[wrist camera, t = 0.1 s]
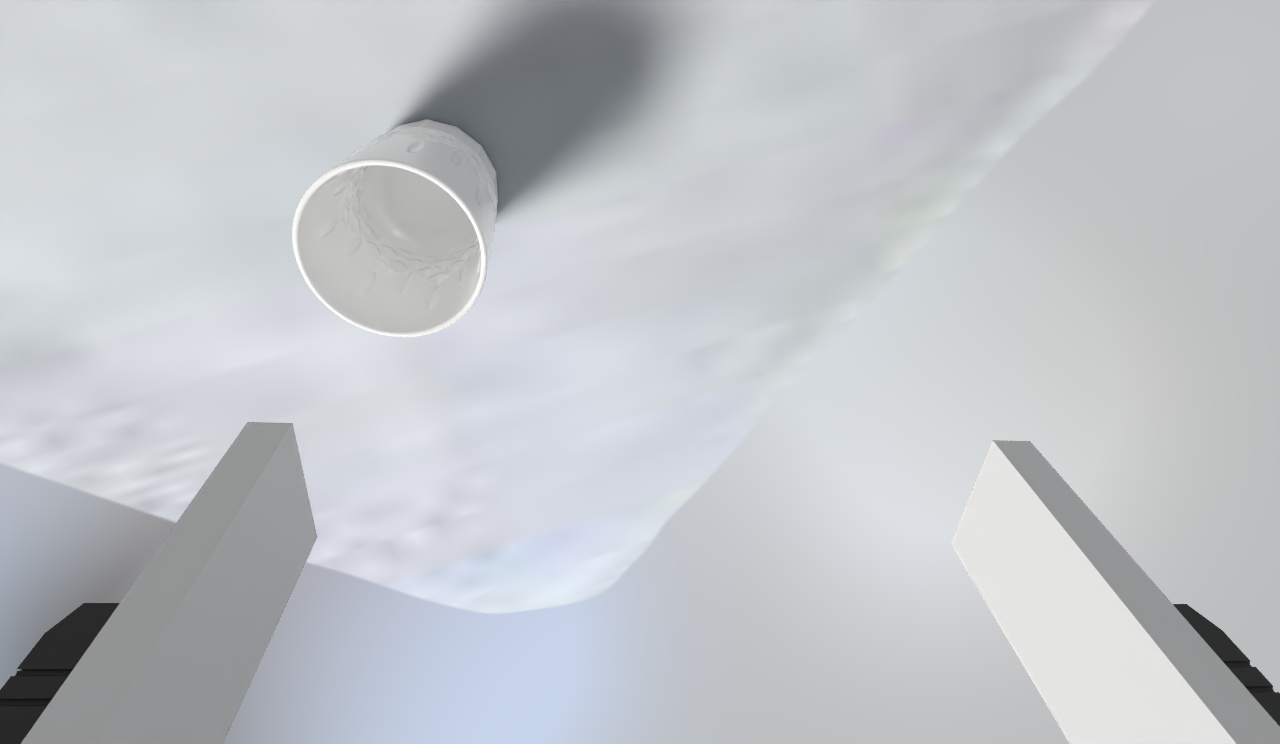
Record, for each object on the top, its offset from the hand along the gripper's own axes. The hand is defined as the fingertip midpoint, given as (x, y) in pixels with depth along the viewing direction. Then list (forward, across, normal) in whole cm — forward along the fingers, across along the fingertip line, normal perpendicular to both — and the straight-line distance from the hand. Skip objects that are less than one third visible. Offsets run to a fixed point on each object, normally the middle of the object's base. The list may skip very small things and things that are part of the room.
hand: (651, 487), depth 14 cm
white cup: (+28, -9, -3) cm, 30 cm away
